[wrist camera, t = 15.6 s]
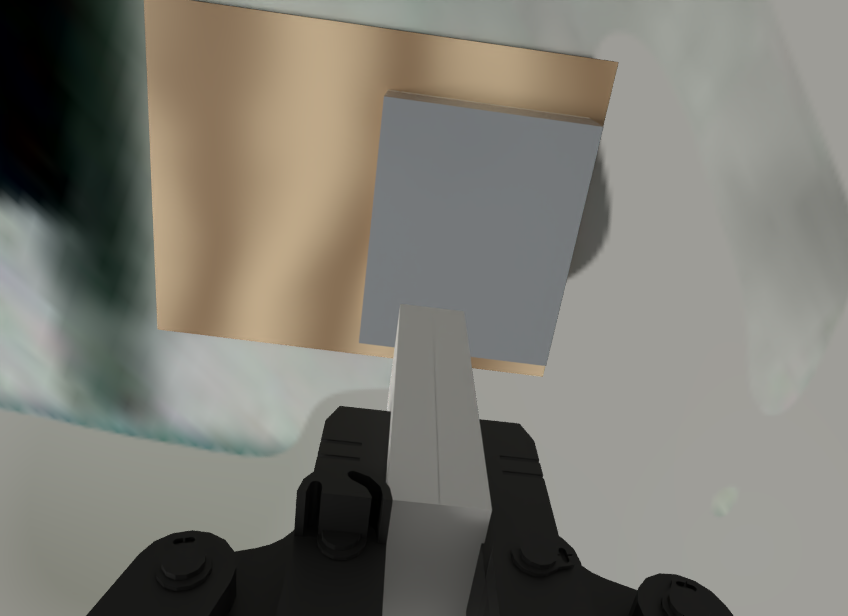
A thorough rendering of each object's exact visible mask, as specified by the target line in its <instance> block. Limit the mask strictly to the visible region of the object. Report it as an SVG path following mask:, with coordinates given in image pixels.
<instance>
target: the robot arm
mask: <svg viewBox="0 0 848 616" xmlns="http://www.w3.org/2000/svg"><path fill="white" fill-rule="evenodd" d="M86 616H733V614H732V613H731V612H730V610H729V609H728V608H727V607H726V605H724V603H723V602H722V601H721V600H719V598H718V597H717V596H716V595H715V594H714V593H712V592H711V591H710V590H708V589H707V588H705V587H703V586H702V585H700V584H699V583H697V582H696V581H693V580H691V579H688V578H685V577H682V576H679V575H675V574H657V575H654V576H651V577H648V578H646V579H645V580H644V581H643V583H642V584H641V585H640V587H639V588H638V590H635V589H632V588H629V587H627V586H624V585H621V584H618V583H616V582H613V581H610V580H607V579H605V578H602V577H600V576H598V575H596V574H594V573H592V572H590V571H589V570H587V569H586V568H584V567H583V566H582V565H581V562H580V560H579V558H578V557H577V554H576V552H575V550H574V549H573V548H572V547H571V546H570V545H569V544H568V543H567V542H566V541H565V540H564V539H562V538H561V537H559V535H558V531H557V527H556V523H555V519H554V516H553V512H552V508H551V504H550V500H549V496H548V492H547V489H546V485H545V481H544V479H543V473H542V469H541V466H540V463H539V458H538V454H537V450H536V446H535V443H534V440H533V439H532V438H531V437H530V435H529V434H528V433H527V432H526V431H525V430H524V428H523V427H522V426H521V425H520V424H517V423H508V422H499V421H490V420H481V419H479V414H478V407H477V401H476V393H475V386H474V379H473V372H472V365H471V358H470V350H469V343H468V336H467V329H466V322H465V315H464V311H456V310H448V309H439V308H431V307H422V306H414V305H406V304H400V310H399V318H398V326H397V334H396V341H395V349H394V357H393V365H392V372H391V380H390V388H389V396H388V405H387V411H381V410H372V409H362V408H354V407H344V406H339V407H338V408H337V409H336V410H335V411H334V413H332V414H331V416H329V418H327V419H326V421H325V425H324V429H323V434H322V438H321V443H320V447H319V451H318V457H317V460H316V465H315V468H314V472H313V473H311V474H310V475H308V476H307V477H306V478H304V479H303V481H302V483H301V485H300V486H299V488H298V490H297V499H296V516H295V529H294V531H293V532H291V533H290V534H288V535H287V536H286V537H284V538H283V539H281V540H279V541H277V542H275V543H272V544H270V545H266V546H262V547H259V548H255V549H248V550H242V551H236V552H234V551H233V549H232V548H231V547H230V546H229V544H228V543H227V542H226V540H224V539H222V538H220V537H218V536H216V535H214V534H212V533H209V532H201V531H193V530H192V531H185V532H179V533H173V534H170V535H168V536H166V537H164V538H161V539H159V540H156V541H154V542H153V543H152V544H151V545H149V546H148V547H147V548H146V549H145V550H143V551H142V552H141V553H140V554H139V555H138V556H137V557H136V558H135V559H134V561H133V562H132V563H131V564H130V565H129V567H128V568H127V569H126V570H125V571H124V572H123V574H122V575H121V576H120V577H119V578H118V579H117V580H116V582H115V583H114V584H113V585H112V586H111V587H110V589H109V590H108V591H107V592H106V593H105V594H104V596H103V597H102V598H101V599H100V600H99V601H98V603H97V604H96V605H95V606H94V607H93V609H92V610H91V611H90V612H89V613H88V614H87V615H86Z"/></svg>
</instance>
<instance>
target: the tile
mask: <svg viewBox="0 0 848 616" xmlns="http://www.w3.org/2000/svg"><path fill="white" fill-rule="evenodd" d="M602 131H603V126H601V125H600V124H598V123H597V122H595V121H594V120H592V119H590V118H589V117H582V116H575V115H567V114H560V113H553V112H546V111H539V110H532V109H525V108H517V107H510V106H503V105H496V104H489V103H482V102H474V101H467V100H460V99H453V98H446V97H439V96H432V95H424V94H417V93H410V92H403V91H396V90H389V89H388V90H387V92H386V94H385V95H384V100H383V110H382V119H381V129H380V139H379V149H378V159H377V169H376V178H375V188H374V198H373V208H372V218H371V228H370V237H369V247H368V257H367V267H366V277H365V287H364V296H363V306H362V316H361V326H360V336H359V343H362V344H370V345H378V346H386V347H395V341H396V334H397V326H398V318H399V310H400V304H406V305H414V306H422V307H431V308H439V309H448V310H456V311H464V315H465V322H466V329H467V336H468V343H469V350H470V357H476V358H484V359H492V360H500V361H508V362H517V363H525V364H533V365H541V366H546V364H547V360H548V355H549V351H550V347H551V343H552V339H553V334H554V330H555V326H556V322H557V318H558V314H559V309H560V306H561V301H562V297H563V293H564V289H565V285H566V281H567V276H568V272H569V268H570V264H571V260H572V256H573V251H574V247H575V243H576V239H577V235H578V231H579V226H580V222H581V218H582V214H583V210H584V206H585V202H586V197H587V193H588V189H589V185H590V181H591V177H592V172H593V168H594V164H595V160H596V156H597V152H598V147H599V143H600V139H601V135H602Z"/></svg>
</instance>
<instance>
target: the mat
mask: <svg viewBox="0 0 848 616" xmlns="http://www.w3.org/2000/svg"><path fill="white" fill-rule="evenodd" d="M144 11H145V35H146V59H147V84H148V108H149V132H150V156H151V180H152V204H153V228H154V252H155V276H156V300H157V325H158V329H159V330H167V331H175V332H184V333H192V334H200V335H208V336H216V337H224V338H232V339H240V340H249V341H257V342H265V343H273V344H281V345H289V346H297V347H305V348H314V349H322V350H330V351H338V352H346V353H354V354H362V355H370V356H379V357H387V358H393V357H394V349H395V347H386V346H378V345H370V344H362V343H359V336H360V326H361V316H362V306H363V296H364V287H365V277H366V267H367V257H368V247H369V237H370V228H371V218H372V208H373V198H374V188H375V178H376V169H377V159H378V149H379V139H380V129H381V119H382V110H383V100H384V95H385V94H386V92H387V90H388V89H389V90H396V91H403V92H410V93H417V94H424V95H432V96H439V97H446V98H453V99H460V100H467V101H474V102H482V103H489V104H496V105H503V106H510V107H517V108H525V109H532V110H539V111H546V112H553V113H560V114H567V115H575V116H582V117H589V118H590V119H592V120H594V121H595V122H597V123H598V124H600V125H601V126H603V125H604V120H605V116H606V112H607V108H608V104H609V100H610V96H611V92H612V87H613V83H614V79H615V75H616V70H617V67H618V62H614V61H607V60H600V59H593V58H587V57H580V56H573V55H566V54H559V53H552V52H545V51H538V50H531V49H524V48H517V47H511V46H504V45H497V44H490V43H483V42H476V41H469V40H462V39H455V38H448V37H442V36H435V35H428V34H421V33H414V32H407V31H400V30H393V29H386V28H379V27H372V26H366V25H359V24H352V23H345V22H338V21H331V20H324V19H317V18H310V17H303V16H296V15H290V14H283V13H276V12H269V11H262V10H255V9H248V8H241V7H234V6H227V5H221V4H214V3H207V2H200V1H193V0H144ZM470 358H471V365H472V368H476V369H485V370H492V371H500V372H509V373H517V374H525V375H534V376H541V377H543V373H544V369H545V366H541V365H533V364H525V363H517V362H508V361H500V360H492V359H484V358H476V357H470Z"/></svg>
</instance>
